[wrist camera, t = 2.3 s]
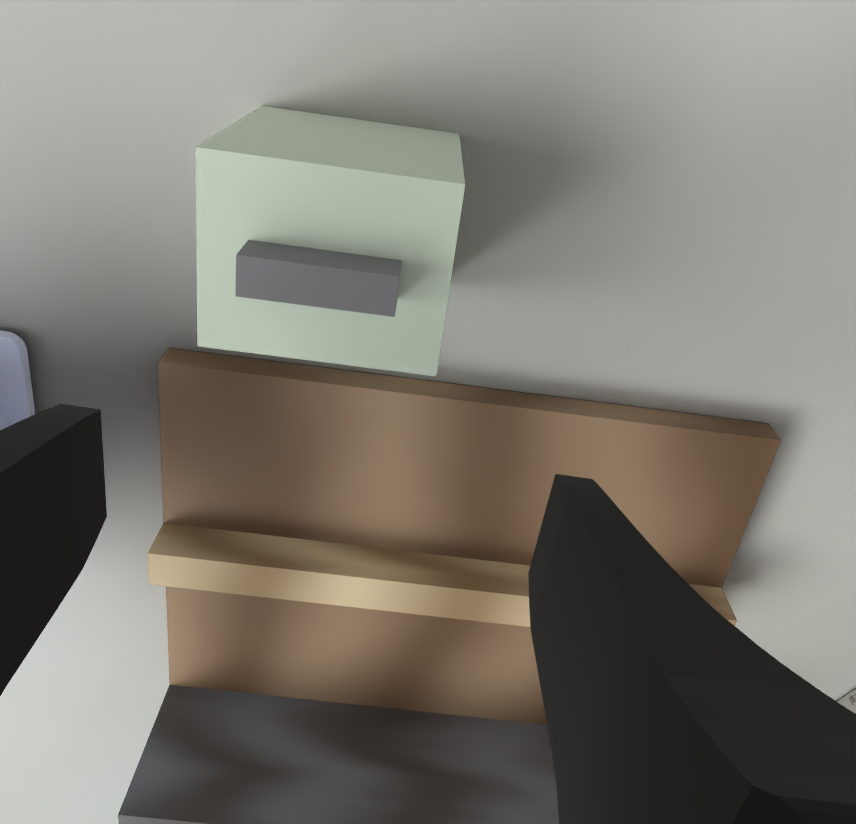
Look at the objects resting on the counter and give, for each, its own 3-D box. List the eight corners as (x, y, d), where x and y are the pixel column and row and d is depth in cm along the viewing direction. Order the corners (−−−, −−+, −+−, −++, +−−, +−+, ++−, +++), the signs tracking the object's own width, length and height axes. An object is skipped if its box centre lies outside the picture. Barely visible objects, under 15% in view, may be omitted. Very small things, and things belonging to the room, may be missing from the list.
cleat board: (178, 686, 29) (120, 839, 24) (168, 347, 23) (85, 455, 17) (646, 735, 30) (689, 894, 25) (768, 423, 23) (862, 548, 18)
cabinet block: (258, 259, 21) (183, 367, 15) (262, 105, 19) (178, 157, 13) (437, 283, 22) (435, 398, 15) (459, 133, 20) (466, 196, 14)
